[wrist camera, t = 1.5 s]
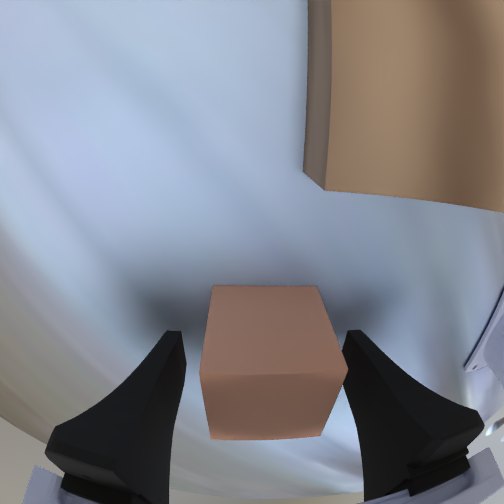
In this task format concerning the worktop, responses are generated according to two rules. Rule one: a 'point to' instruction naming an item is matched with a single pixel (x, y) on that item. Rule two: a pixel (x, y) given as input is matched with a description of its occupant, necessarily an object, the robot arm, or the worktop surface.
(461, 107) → the walnut block
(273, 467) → the worktop surface
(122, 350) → the worktop surface
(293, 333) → the terracotta cube
